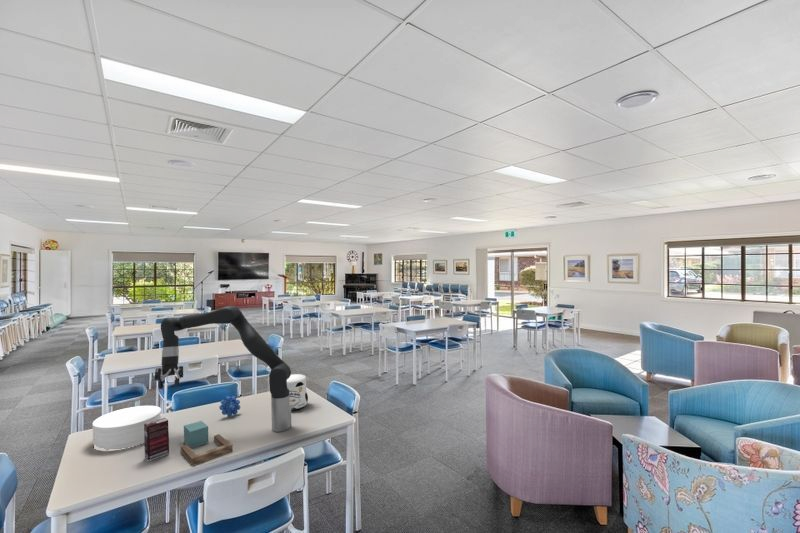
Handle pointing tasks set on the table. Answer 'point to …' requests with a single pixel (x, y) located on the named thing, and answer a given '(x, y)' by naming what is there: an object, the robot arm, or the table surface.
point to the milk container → (297, 391)
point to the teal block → (196, 434)
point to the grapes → (230, 406)
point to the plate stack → (123, 427)
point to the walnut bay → (196, 459)
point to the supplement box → (156, 439)
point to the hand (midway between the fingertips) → (168, 387)
